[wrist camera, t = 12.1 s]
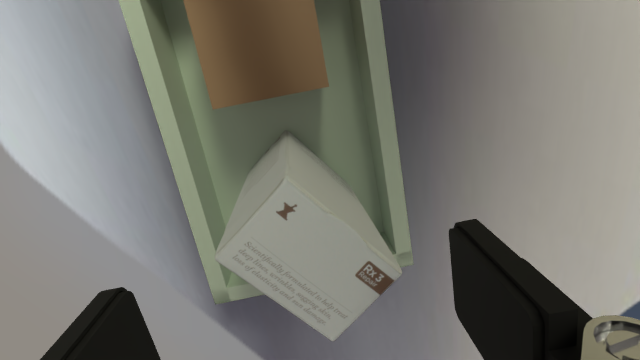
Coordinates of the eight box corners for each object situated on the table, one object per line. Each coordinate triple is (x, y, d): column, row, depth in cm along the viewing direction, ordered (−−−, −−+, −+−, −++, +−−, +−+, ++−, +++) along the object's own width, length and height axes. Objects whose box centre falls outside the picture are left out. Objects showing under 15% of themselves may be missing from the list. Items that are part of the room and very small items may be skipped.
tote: (354, -64, 21) (367, -95, 17) (396, 238, 27) (413, 264, 23) (139, -22, 21) (104, -44, 17) (226, 272, 27) (215, 304, 23)
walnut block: (304, -18, 21) (305, -46, 16) (322, 84, 23) (329, 86, 18) (204, 1, 21) (177, -21, 16) (230, 102, 23) (212, 109, 18)
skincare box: (245, 174, 24) (197, 263, 13) (288, 124, 23) (280, 170, 12) (313, 228, 26) (327, 354, 14) (356, 183, 25) (408, 275, 13)
